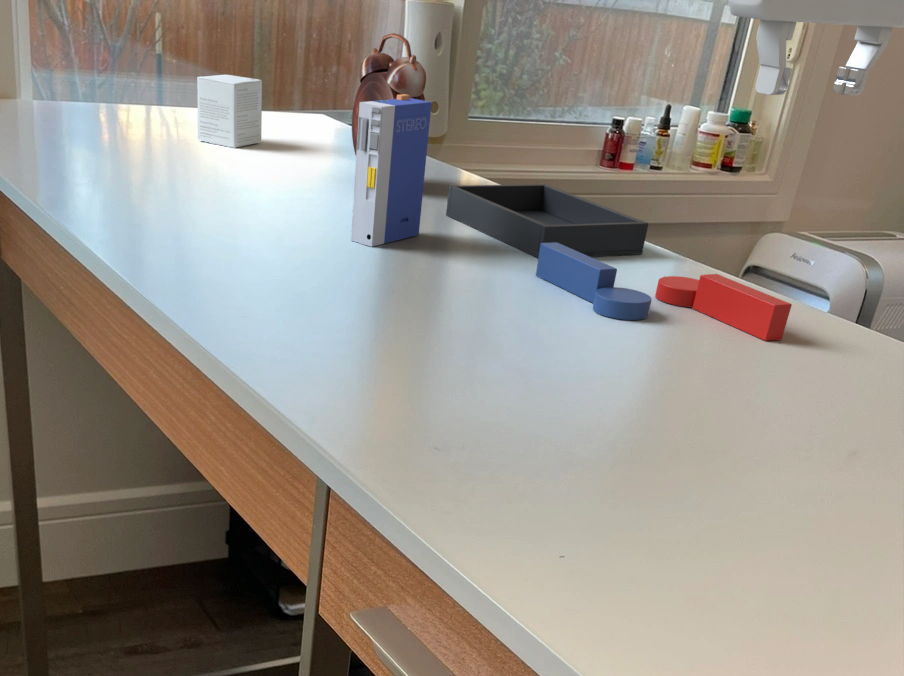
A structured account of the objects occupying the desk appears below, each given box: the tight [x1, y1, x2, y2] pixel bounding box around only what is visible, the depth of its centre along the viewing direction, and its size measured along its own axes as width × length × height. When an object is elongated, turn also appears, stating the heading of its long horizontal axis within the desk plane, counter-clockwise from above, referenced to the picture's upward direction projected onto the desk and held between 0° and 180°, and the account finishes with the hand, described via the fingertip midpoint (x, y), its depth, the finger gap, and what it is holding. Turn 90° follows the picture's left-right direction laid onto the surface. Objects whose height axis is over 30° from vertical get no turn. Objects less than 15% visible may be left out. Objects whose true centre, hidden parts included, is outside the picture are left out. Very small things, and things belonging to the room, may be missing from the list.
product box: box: [196, 74, 263, 149], centre depth 143 cm, size 6×6×7 cm
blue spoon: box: [535, 242, 653, 321], centre depth 95 cm, size 14×5×3 cm, turn 26°
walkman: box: [350, 94, 432, 247], centre depth 104 cm, size 8×3×12 cm, turn 143°
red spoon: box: [654, 273, 793, 342], centre depth 93 cm, size 14×5×3 cm, turn 26°
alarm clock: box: [351, 33, 427, 156], centre depth 126 cm, size 11×5×15 cm, turn 28°
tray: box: [445, 183, 649, 259], centre depth 114 cm, size 18×12×3 cm
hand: (809, 94), depth 85 cm, fingers open, 8 cm apart
